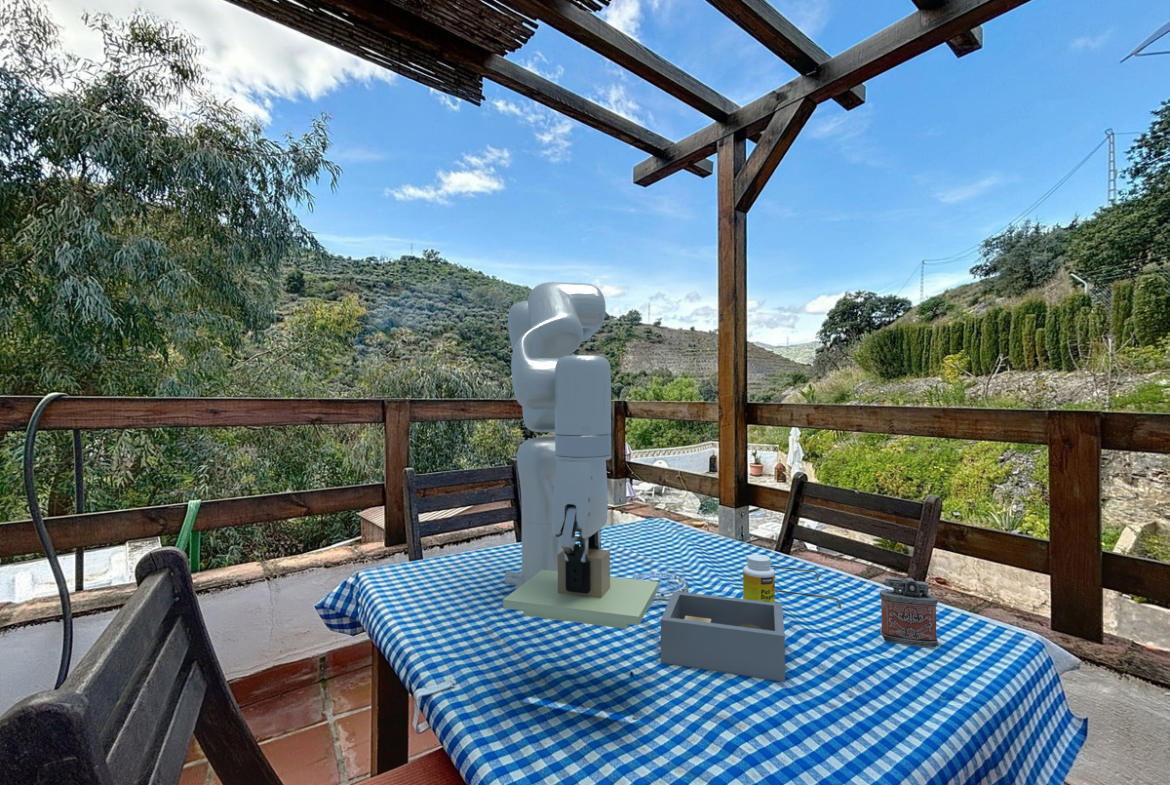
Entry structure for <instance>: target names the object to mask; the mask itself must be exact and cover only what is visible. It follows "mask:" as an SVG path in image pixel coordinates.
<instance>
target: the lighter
mask: <svg viewBox="0 0 1170 785" xmlns="http://www.w3.org/2000/svg"><path fill="white" fill-rule="evenodd" d="M884 586H885V587H888V588H893V589H881V590H880V591H879V596H880V598H881V600H880V601H881V602H880V603H881V607H880V608H881V612H880V613H881V614H880V615H881V629H880V632H879V633H880V634H881V636H882V638H883V640H884V641H885V642H888V643H893V644H898V645H904V646H910V647H911V646H913V647H921V648H937V647H938V646H939V643H938V642H939V639H938V638H937V604H938V597H937V596H935V595H933V594H930V593H929V582H926V581H918V580H917V581H916V580H914V579H913V578H912V577H906V578H905V579H902V578H898V577H888V576H887V577H886V578H884ZM900 589H901V590H900ZM936 646H937V647H936Z"/></svg>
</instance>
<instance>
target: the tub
mask: <svg viewBox="0 0 1170 785" xmlns="http://www.w3.org/2000/svg"><path fill="white" fill-rule="evenodd" d="M685 616H692V617H700V618H708V619H711V623H708V622H701V621H693V620H685V619H684V618H685ZM745 624H751V625H756V626H759V627H761V628H762V629H755V628H747V627H739V626H741V625H745ZM784 624H785V623H784V614H783V603H781V602H775V603H773V602H764V601H756V600H747V599H743V598H737V597H736V598H735V597H728V596H719V595H712V594H711V595H709V594H702V593H701V594H700V593H691V592H684V591H683V592H682V591H673V592H672V594H671V596H670V599H669V601H668V603H667V604H666V607H665V609H664V611H663V614H662V616H661V618H660V663H661V664H667V665H674V666H679V667H686V668H692V669H699V670H705V671H711V672H712V671H713V672H716V673H724V674H731V675H736V676H737V675H739V676H742V677H743V676H744V677H748V678H750V677H751V678H756V679H761V680H762V679H764V680H770V681H775V682H782V683H786V638H785V637H786V634H785V625H784Z"/></svg>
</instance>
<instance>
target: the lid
mask: <svg viewBox="0 0 1170 785" xmlns="http://www.w3.org/2000/svg"><path fill="white" fill-rule="evenodd" d="M587 561H590V592H589V593H587V594H585V593H577V592H568V591H567V590H566V561H565V551H564V550H563V551H562V552H561V553H559V554H558V571H549V570H541V571H540V572H538V573H537V574H536V575H535V576H533V577H532V578H531V579H529V580H528V581H527V582H525V583H524V584H523V585H521V586H520V587H519V588H517V587H516V589H515V590H513V591H512V592H511V593H509V595H507V596H506V597H504V598H503V599H502V608H504V609H510V610H518V611H523V616H525V617H526V616H527V617H533V618H542V619H550V620H557V621H564V622H570V623H571V622H572V623H578V624H579V623H580V624H585V625H593V626H601V627H608V628H616V629H625V630H627V628H628V627H629V625H635V626H639V625H640V624H641V623H642V620H643V618H644V616H646V612H647V611H648V609H649V607H650V605H651V604H652V602H653V600H654V598H655V597H656V595H657V594H658V591H659V588H660V585H659V584H660V583H659V581H654V580H653V581H652V580H644V579H637V578H628V577H627V578H626V577H615V576H611V550H609V549H608V550H607V549H601V550H600V549H588V559H587Z"/></svg>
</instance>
